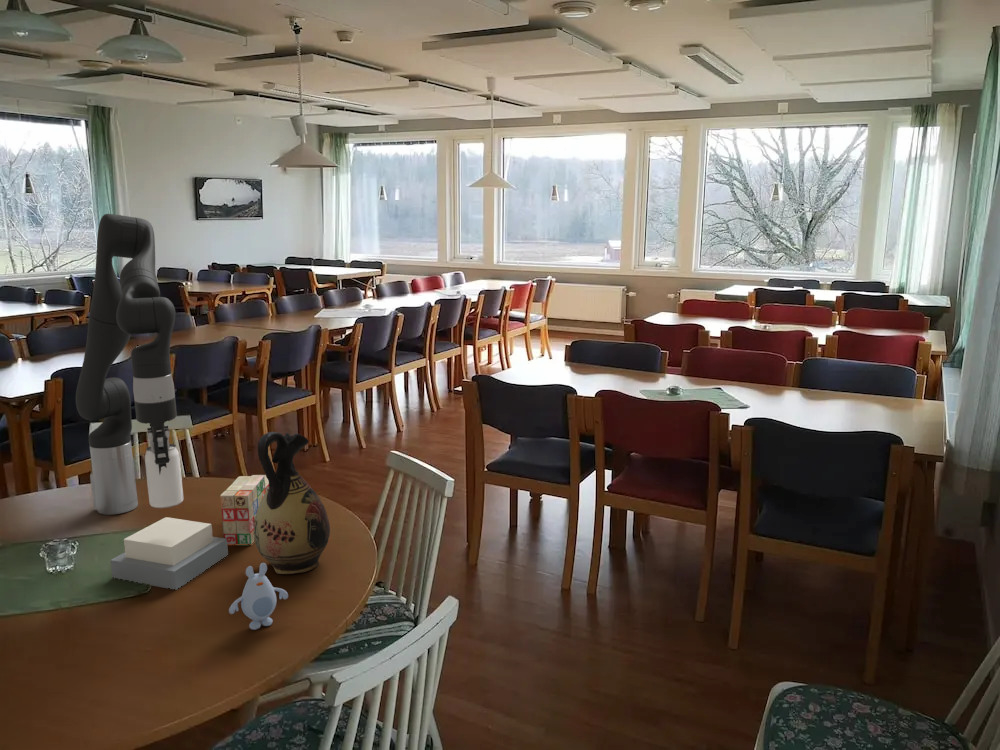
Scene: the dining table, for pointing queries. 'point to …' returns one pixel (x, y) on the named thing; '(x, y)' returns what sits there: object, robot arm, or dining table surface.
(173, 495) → the can
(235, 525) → the stack of blocks
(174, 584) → the tower base
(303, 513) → the ceramic jug
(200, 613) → the dining table surface
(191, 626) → the dining table surface
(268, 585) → the toy figure
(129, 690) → the dining table surface
